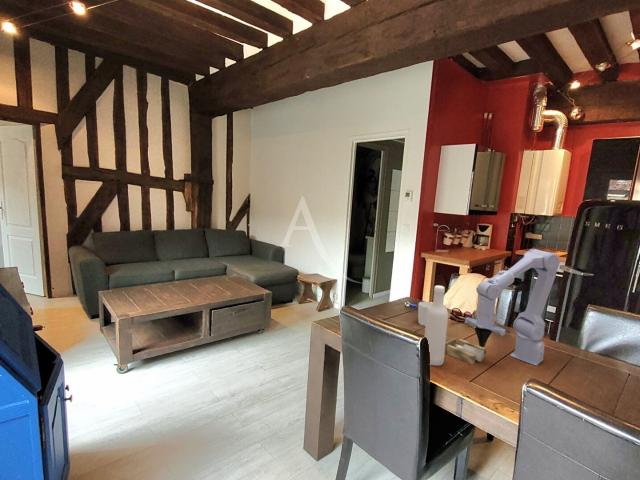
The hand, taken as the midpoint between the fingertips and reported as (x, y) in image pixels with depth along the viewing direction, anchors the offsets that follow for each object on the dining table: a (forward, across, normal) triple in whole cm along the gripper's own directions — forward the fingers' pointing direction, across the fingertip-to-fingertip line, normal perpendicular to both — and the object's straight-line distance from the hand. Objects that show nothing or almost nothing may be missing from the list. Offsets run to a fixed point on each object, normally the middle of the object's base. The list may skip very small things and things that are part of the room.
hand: (482, 346), depth 129 cm
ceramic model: (+7, -16, +35) cm, 39 cm away
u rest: (+6, -7, 0) cm, 10 cm away
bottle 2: (+4, 0, 0) cm, 4 cm away
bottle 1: (+6, -11, -15) cm, 20 cm away
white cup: (+7, -35, +15) cm, 38 cm away
